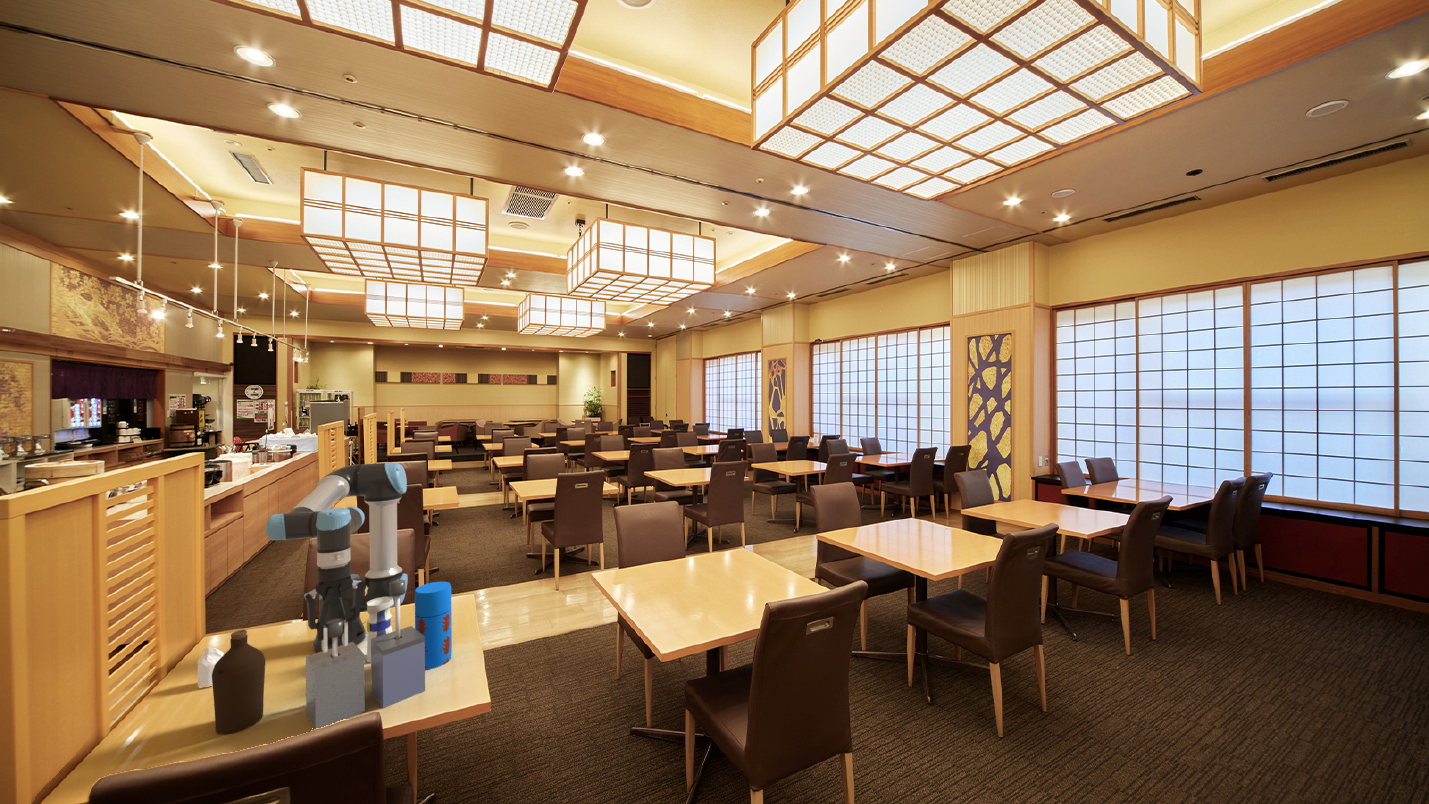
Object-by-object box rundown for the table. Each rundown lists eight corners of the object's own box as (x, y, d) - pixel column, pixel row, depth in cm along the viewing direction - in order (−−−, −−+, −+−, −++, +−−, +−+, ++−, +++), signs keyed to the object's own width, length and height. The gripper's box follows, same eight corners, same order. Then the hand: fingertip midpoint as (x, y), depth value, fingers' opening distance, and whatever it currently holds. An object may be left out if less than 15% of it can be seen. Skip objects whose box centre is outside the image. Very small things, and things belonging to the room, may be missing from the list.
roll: (227, 639, 159) (219, 647, 154) (227, 677, 159) (219, 686, 154) (202, 643, 156) (193, 652, 151) (202, 681, 156) (193, 691, 151)
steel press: (303, 709, 142) (302, 651, 142) (349, 691, 150) (349, 637, 150) (315, 731, 132) (315, 670, 132) (364, 711, 141) (364, 654, 141)
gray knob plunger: (377, 649, 150) (376, 582, 149) (408, 638, 156) (407, 575, 156) (386, 658, 144) (385, 589, 144) (418, 647, 151) (417, 581, 150)
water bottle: (367, 666, 165) (366, 591, 165) (363, 656, 171) (363, 584, 171) (396, 657, 170) (395, 585, 170) (391, 648, 177) (391, 578, 176)
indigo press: (367, 688, 152) (366, 634, 152) (407, 673, 161) (406, 622, 160) (383, 708, 142) (382, 650, 142) (425, 690, 151) (424, 636, 151)
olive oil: (258, 728, 134) (257, 636, 134) (205, 741, 129) (204, 645, 129) (271, 706, 143) (270, 620, 143) (221, 718, 138) (220, 628, 138)
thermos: (435, 671, 162) (434, 594, 161) (407, 667, 164) (406, 592, 164) (459, 654, 172) (458, 582, 172) (432, 651, 174) (431, 580, 174)
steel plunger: (313, 693, 140) (312, 622, 139) (349, 680, 146) (348, 612, 146) (320, 705, 134) (319, 631, 134) (357, 691, 141) (356, 620, 140)
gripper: (298, 575, 131) (299, 664, 131) (373, 559, 144) (374, 640, 144) (292, 569, 136) (293, 654, 136) (365, 554, 149) (366, 632, 149)
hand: (334, 647), depth 140 cm, fingers closed on steel plunger, 4 cm apart
